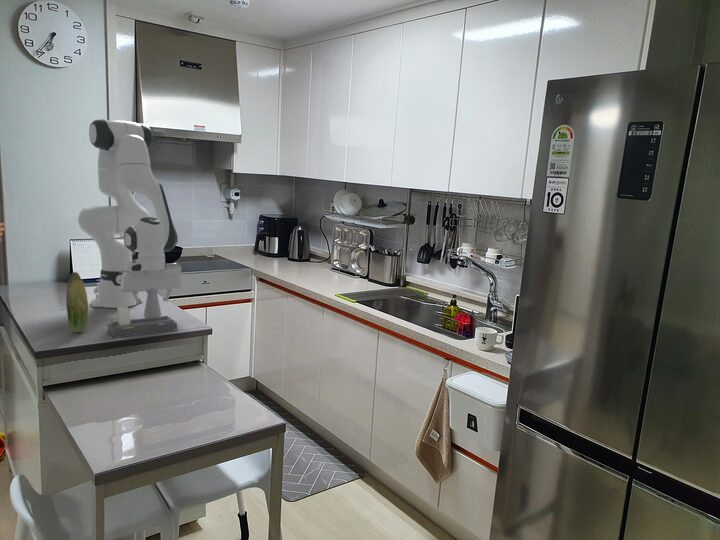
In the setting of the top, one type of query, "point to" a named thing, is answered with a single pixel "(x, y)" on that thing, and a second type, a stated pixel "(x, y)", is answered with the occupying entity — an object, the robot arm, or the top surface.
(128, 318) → the slider knob
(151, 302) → the salt shaker
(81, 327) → the vegetable
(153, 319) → the switch plate
